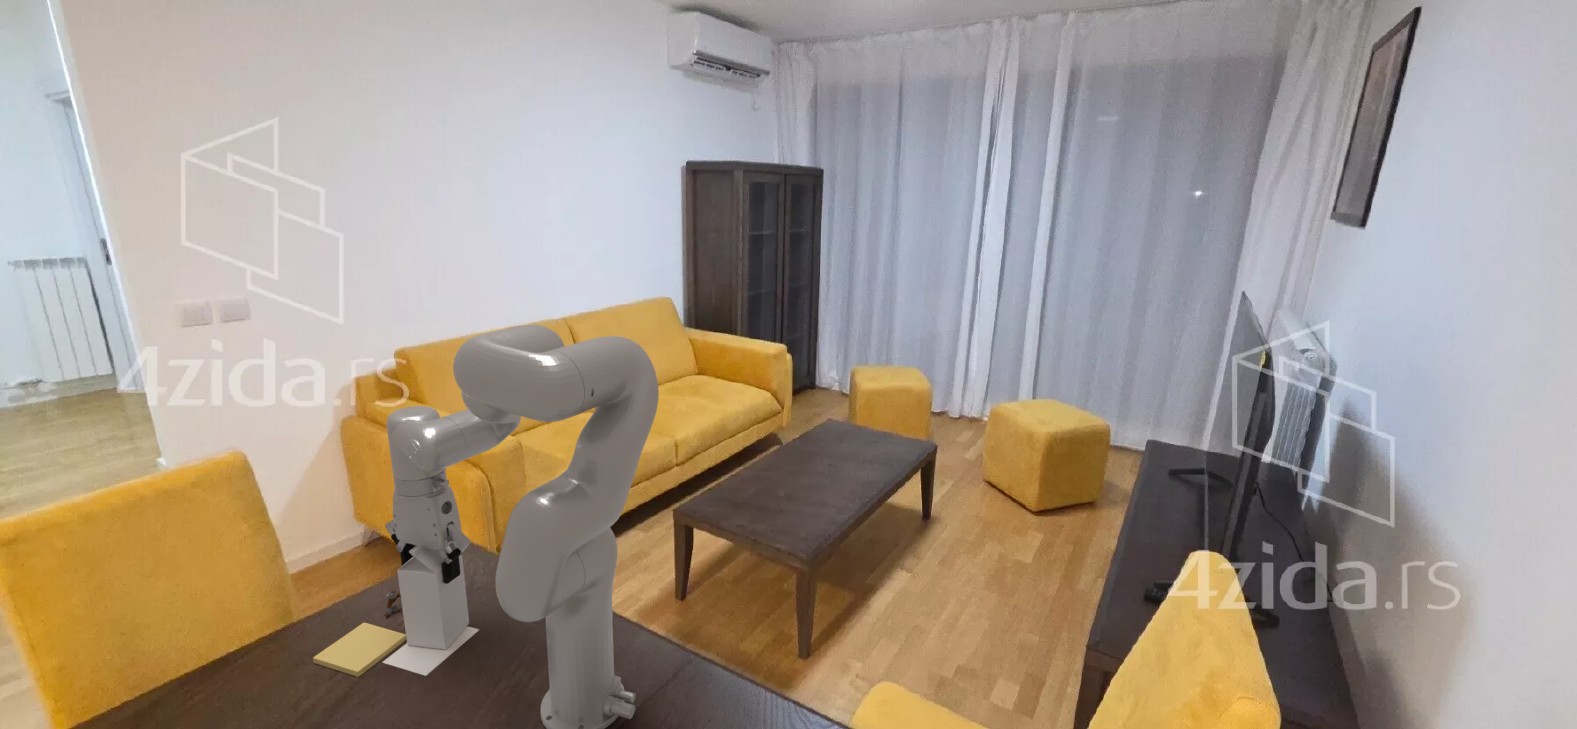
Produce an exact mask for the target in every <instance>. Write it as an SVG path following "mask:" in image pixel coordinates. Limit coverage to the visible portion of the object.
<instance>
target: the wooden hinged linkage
mask: <svg viewBox="0 0 1577 729" xmlns="http://www.w3.org/2000/svg"><path fill="white" fill-rule="evenodd" d="M385 598H386V599H388V601H387V605H386V607H385V610H384V614H383V615H384V616H385V617H390V614H391V611H394V612H396V613H397V612H398V611H401V610H403V609H402V604H400V603H398V604H394V603H395V602H396V601H397V600H398V598H401V594H400V591H396V590H395V589H393V590H391V591H390V592H387V594H386V595H385Z"/></svg>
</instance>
